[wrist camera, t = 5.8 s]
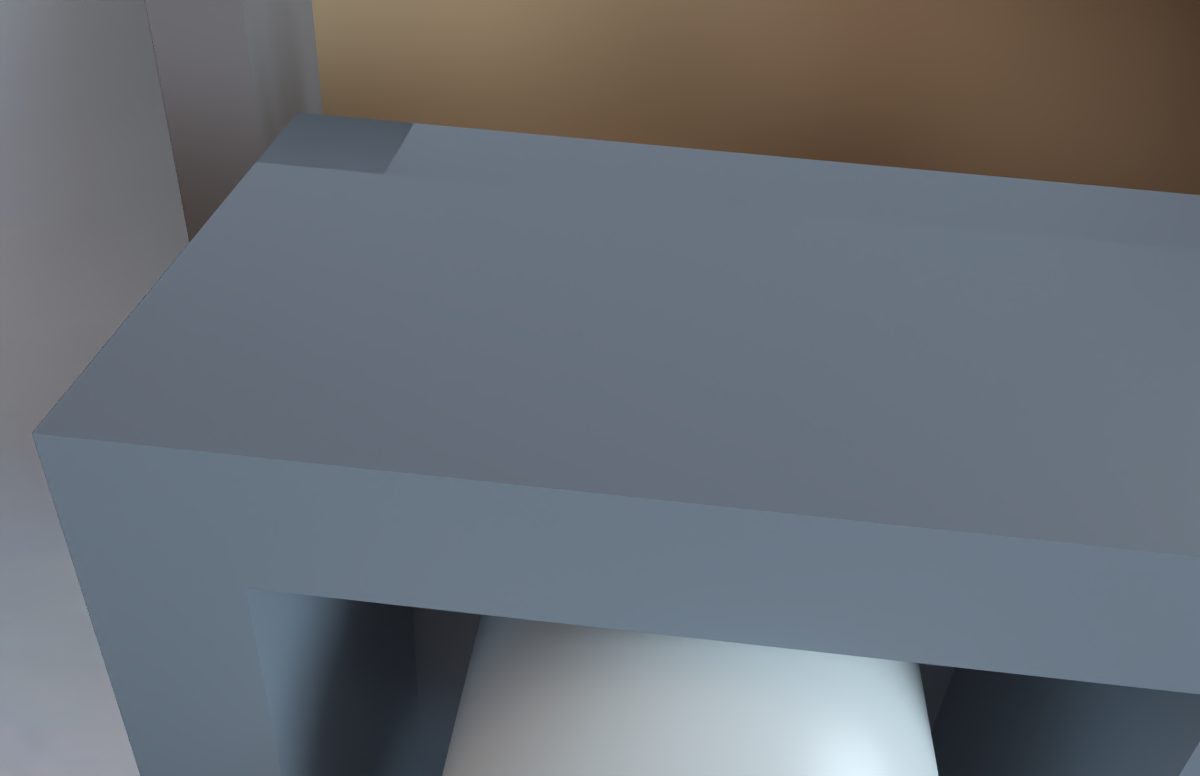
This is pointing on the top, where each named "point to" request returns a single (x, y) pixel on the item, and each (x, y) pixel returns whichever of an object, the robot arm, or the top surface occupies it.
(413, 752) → the tray
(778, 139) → the shelf board
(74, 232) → the top surface
